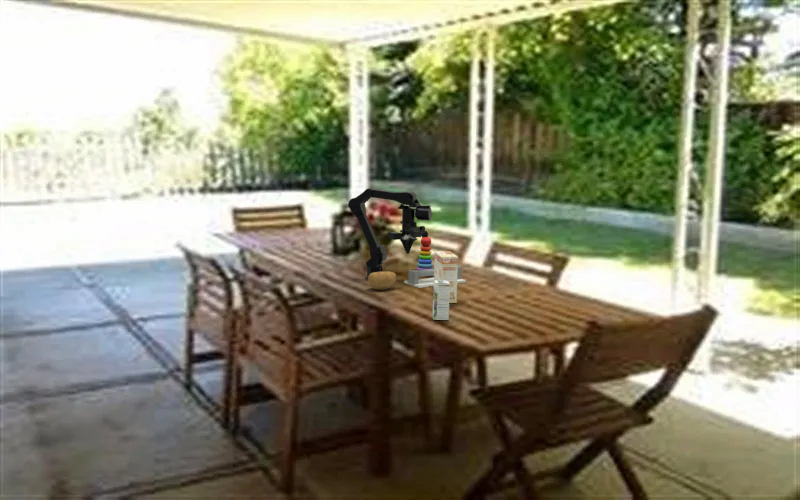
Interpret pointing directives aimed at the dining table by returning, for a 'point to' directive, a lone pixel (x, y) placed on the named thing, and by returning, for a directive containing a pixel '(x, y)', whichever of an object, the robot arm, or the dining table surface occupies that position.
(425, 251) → the stacking toy
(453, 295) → the coffeecake box
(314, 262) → the dining table surface
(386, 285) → the potato
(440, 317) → the syrup box
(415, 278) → the pipe rig
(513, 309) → the dining table surface
